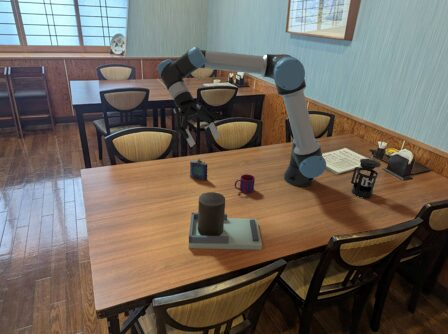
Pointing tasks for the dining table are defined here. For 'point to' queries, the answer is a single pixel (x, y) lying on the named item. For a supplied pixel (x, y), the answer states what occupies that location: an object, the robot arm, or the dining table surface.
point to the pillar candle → (211, 214)
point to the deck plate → (227, 235)
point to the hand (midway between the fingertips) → (206, 141)
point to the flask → (198, 170)
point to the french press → (363, 182)
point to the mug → (246, 183)
